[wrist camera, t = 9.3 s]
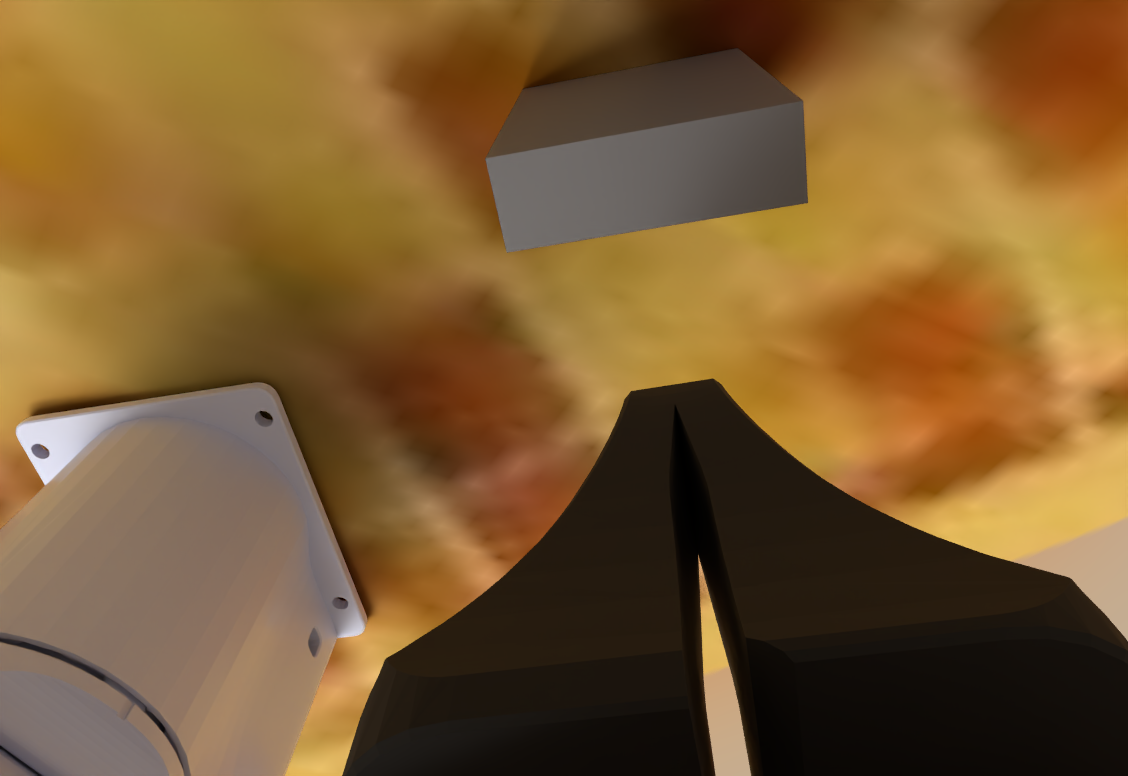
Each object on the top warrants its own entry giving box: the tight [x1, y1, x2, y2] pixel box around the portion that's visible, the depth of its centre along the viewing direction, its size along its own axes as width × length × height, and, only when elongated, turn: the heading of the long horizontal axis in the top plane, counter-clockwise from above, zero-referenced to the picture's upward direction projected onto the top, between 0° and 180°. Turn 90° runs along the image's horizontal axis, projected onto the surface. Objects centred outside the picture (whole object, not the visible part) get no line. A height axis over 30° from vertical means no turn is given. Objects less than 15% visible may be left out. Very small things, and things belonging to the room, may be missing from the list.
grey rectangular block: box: [485, 48, 808, 253], centre depth 16 cm, size 2×5×7 cm, turn 100°
